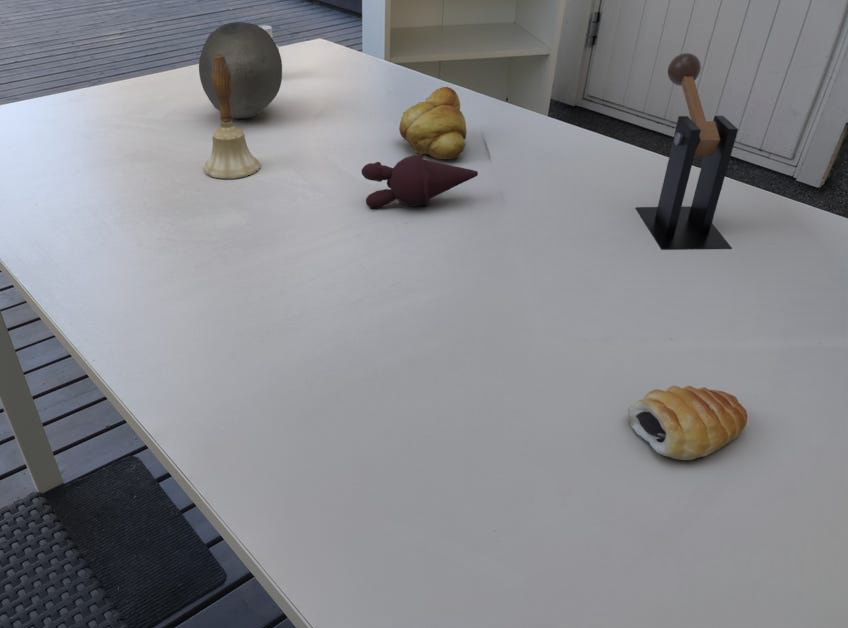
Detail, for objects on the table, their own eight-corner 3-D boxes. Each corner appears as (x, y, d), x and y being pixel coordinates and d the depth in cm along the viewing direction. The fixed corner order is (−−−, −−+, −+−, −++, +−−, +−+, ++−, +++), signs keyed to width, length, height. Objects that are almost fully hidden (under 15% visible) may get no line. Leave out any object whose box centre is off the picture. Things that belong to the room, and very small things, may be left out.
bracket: (633, 215, 94) (656, 106, 86) (696, 214, 94) (726, 105, 86) (659, 258, 86) (687, 141, 77) (729, 257, 85) (765, 140, 77)
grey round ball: (189, 126, 124) (173, 31, 115) (232, 100, 135) (221, 11, 126) (263, 136, 120) (252, 38, 111) (302, 109, 130) (295, 17, 121)
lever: (661, 71, 90) (671, 46, 87) (691, 71, 90) (702, 46, 87) (684, 159, 84) (695, 136, 80) (716, 159, 84) (729, 135, 80)
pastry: (708, 394, 66) (719, 360, 64) (764, 443, 61) (779, 408, 59) (618, 419, 63) (626, 385, 61) (669, 473, 58) (680, 438, 56)
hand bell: (251, 153, 114) (238, 44, 104) (267, 173, 108) (255, 58, 98) (198, 163, 111) (179, 51, 102) (211, 183, 105) (193, 67, 96)
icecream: (471, 142, 98) (359, 156, 99) (480, 148, 92) (360, 164, 92) (474, 194, 101) (365, 208, 101) (484, 204, 94) (367, 219, 95)
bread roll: (476, 162, 109) (480, 108, 104) (411, 168, 108) (412, 113, 103) (453, 132, 119) (455, 81, 115) (394, 137, 118) (394, 86, 113)
